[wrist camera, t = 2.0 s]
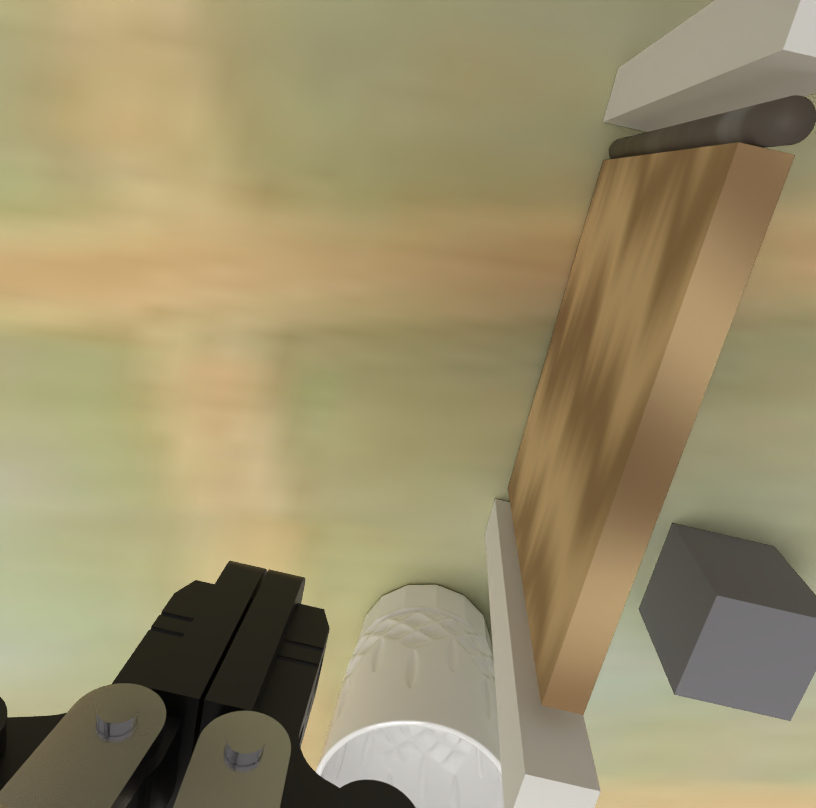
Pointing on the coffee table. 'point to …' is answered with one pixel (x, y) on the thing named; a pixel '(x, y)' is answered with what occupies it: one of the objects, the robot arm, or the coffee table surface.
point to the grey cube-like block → (731, 622)
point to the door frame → (512, 648)
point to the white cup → (420, 703)
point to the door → (635, 368)
